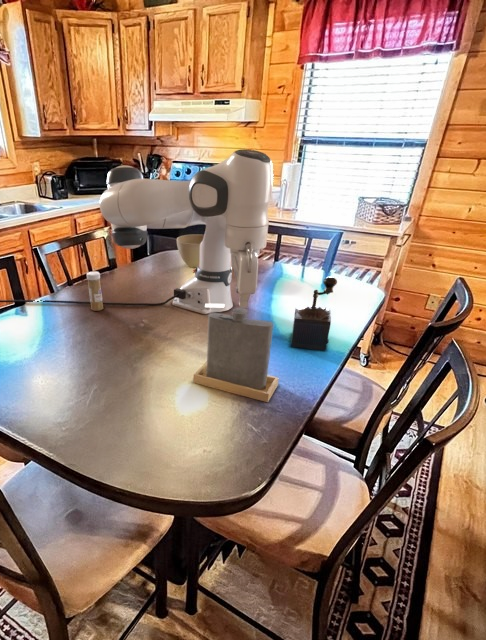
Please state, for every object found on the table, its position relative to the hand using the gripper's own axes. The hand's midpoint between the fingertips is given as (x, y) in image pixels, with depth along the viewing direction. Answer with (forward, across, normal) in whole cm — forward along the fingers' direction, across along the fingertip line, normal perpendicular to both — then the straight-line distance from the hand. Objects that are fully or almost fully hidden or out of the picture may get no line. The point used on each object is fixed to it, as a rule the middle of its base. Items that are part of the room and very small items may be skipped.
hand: (241, 299), depth 96 cm
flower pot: (+23, +105, +10) cm, 108 cm away
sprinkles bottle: (+23, +51, +47) cm, 73 cm away
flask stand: (+23, 0, 0) cm, 23 cm away
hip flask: (+23, 0, 0) cm, 23 cm away
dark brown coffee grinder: (+23, +27, -25) cm, 44 cm away
